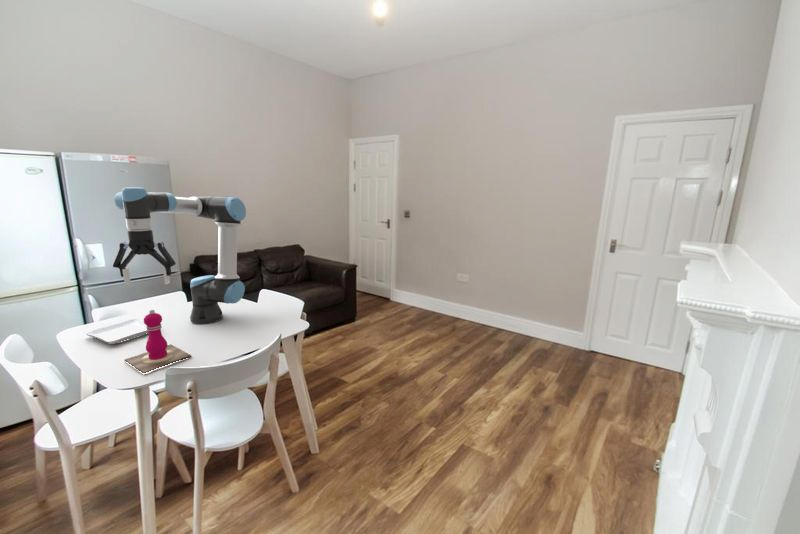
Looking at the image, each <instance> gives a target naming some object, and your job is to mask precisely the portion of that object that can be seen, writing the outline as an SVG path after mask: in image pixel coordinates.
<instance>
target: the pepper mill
mask: <svg viewBox="0 0 800 534" xmlns="http://www.w3.org/2000/svg"><path fill="white" fill-rule="evenodd" d="M143 321H144V324H145V325H147V326H146V328H147V330H148V332H149V333H148V337H147V340H146V343H145V352H149V354H148V356H149V359H151V360H158V359H161V358H164V357H166V356H167V350H165V349H166V348H167V346H168V345H169V344H168V342H167V339H165V337H164V336H163V333H162V331H161V329H162V322H163V317H162V315H161V314H160V313H157V312H156V311H155V309H151V310H149V314H146V315H145V316H144V318H143Z"/></svg>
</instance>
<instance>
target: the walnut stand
mask: <svg viewBox="0 0 800 534" xmlns="http://www.w3.org/2000/svg"><path fill="white" fill-rule="evenodd" d="M167 345H168V346H167V348H166V349H165V350H167V356H166V357H164V358H161V359H158V360H151V359H149V356H148V354H149V352H147V351H145V352H142V353H139V354H137V355H134V356H131V357H128V358H125V359H124V362H125V361H126V362H128V363H129V364H131V365H132V366H134V367H135V368H136V369H138V370H139V371H141V372H142V373H146V372H149V371H151V370H154V369H156V368H159V367H162V366H165V365H168V364H170V363H173V362H176V361H179V360H183V359H186V358H189V359H191V358H192V356H191V353H188V352H186V351H185V350H182V349H181V348H178V347H177V346H175V345H173V344H171V343H169V344H167ZM190 357H191V358H190ZM186 360H187V359H186ZM183 361H184V360H183ZM136 369H135V370H136Z"/></svg>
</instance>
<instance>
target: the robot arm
mask: <svg viewBox="0 0 800 534" xmlns="http://www.w3.org/2000/svg"><path fill="white" fill-rule="evenodd" d="M113 201H114V204H115V206H116V208H118V209H120V210H121V211H123V213H124V216H125V225H126V229H127V237H128V242H126V241H124V242H120V243H119V249H118V251H117V255H116V256H115V259H114V261H113V265H112V268H117V269H119V272H120V273H119V275H120V277H121V278H123V281H124V282H123V283H124V286H125V287H128V286H130V285H131V284H132V283H131V282H132V281H131V275H130V269H129V267H127V266H128V264H129V263H130V262H132V260H133V259H134V257H136V255H149V256H150V257H151V256H152V257H153V258H154V259H155V261H158V263H160V264H161V265H162V266H163V268H162V272H163V280H164V281H163V282H164V285H169V284H170V283H171V281H170V279H171V278H170V276H171V275H172V268H171V267H173V266H174V267H175V265H176V264H177V263H176V261H175V260H174V258H173V257H172V256H171V254H170V253H169V251H168V250H167V248H166V247H165V244H164V242H163V241H160V242H159V241H158V242H154V233H153V230H152V227H153V226H152V225H153V224H152V220H151V213H165V214H166V213H168V214H180V215H181V214H182V215H183V214H184V215H185V214H186V215H188V216H191V217H196V218H197V217H198V218H203V219H208V220H209V219H210V220H214V224H215V225H216V226H217V227H218V230H217V231H218V233H217V234H218V236H217V238H218V244H217V247H218V248H217V263H218V264H217V274H216V275H212V274H210V275H209V274H208V275H203V276H197V277H194V278H192V279H191V280H190V285H189V287H190V289H189V290H190V294H191V301H192V309H191V313H190V318H189V319H190V323H191V322H192V324H195V325H207V324H212V323H216V322H219V321H221V320H222V319H223V318H224V314H223V311H222V309H221V307H220V305H219V303H222V304H227V305H228V304H237V303H238V302H240V301H241V300H242V298H243V297H244V295H245V290H246V287H245V284H244V283H243V282H242V281H241V280H240V279H241V278H240V276H239V275H238V274H237V269H238V265H237V263H238V227H240V226H241V223H242V222H241V221H244V220H245V217H246V216H247V210H246V209H247V208H246V206H245V203H244V202H243V200H241V199H240V198H239V197H234V196H214V195H212V196H211V195H210V196H190V197H182V196H175V195H174V194H173V193H171V192H165V191H163V192H150V191H149V192H148V191H147V189H146V188H145V187H129V186H128V187H123V188H122V189H121V191H119V192H117V193H116V194H115V196H114V199H113ZM155 247H156V248H157V249H158V250H159V252H158V251H157V250H156V249H155ZM127 249H131V251H130V252H129V253H128V255H127V256H126V257H125V254H126V252H127ZM160 253H161V254H160ZM124 257H125V258H124ZM123 259H124V260H123Z"/></svg>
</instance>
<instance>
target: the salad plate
mask: <svg viewBox="0 0 800 534" xmlns="http://www.w3.org/2000/svg"><path fill="white" fill-rule="evenodd" d="M131 324H135V325H137V326H141V327H143V328H146V326H147V325H145V324H144V320H143V319H142V320H141V319H140V318H139V319H138V318H132V319H129V320H125V321H121V322H118V323H114V324H110V325H107V326H104V327H101V328H97V329H94V330H90V331H87V332H85V335H87V336H88V337H90V338H91V337H92V338H93V339H94V338H95V339H96V338H97V339H96V340H100V341H102V342H105V343H106V344H109V345H116V344H115V343H117V344H119V343H118V342H121V341H124V340H127V339H130V340H132V339H131V338H134V337H137V336H139V337H141V336H140V335H142V336H144V335H143V334H145V335H147V334H146V333H148V334H149V332H148V330H146V331H142V332H139V333H135V334H132V335H129V336H126V337H123V338H120V339H117V340H114V341H108V340H105V339H102V338H100V337H97V336H94V335H96V334H100V333H103V332H107V331H110V330H113V329H116V328H120V327H123V326H127V325H131ZM146 329H147V328H146ZM137 338H138V337H137ZM134 339H135V338H134ZM127 341H128V340H127ZM124 342H125V341H124ZM121 343H122V342H121Z"/></svg>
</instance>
